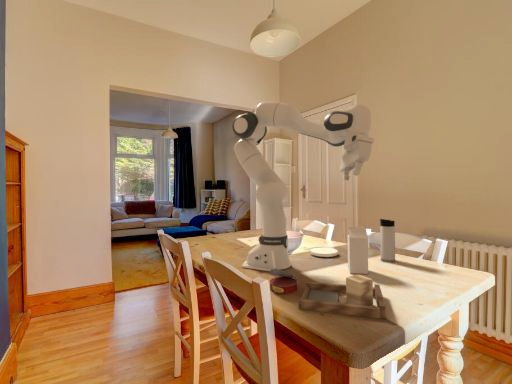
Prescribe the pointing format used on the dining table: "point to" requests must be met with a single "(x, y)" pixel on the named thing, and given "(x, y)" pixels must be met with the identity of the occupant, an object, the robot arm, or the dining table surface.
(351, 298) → the tan wooden block
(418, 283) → the dining table surface
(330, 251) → the plastic lid
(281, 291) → the canned food
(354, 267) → the milk carton
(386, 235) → the travel mug
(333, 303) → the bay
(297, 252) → the dining table surface
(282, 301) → the dining table surface
